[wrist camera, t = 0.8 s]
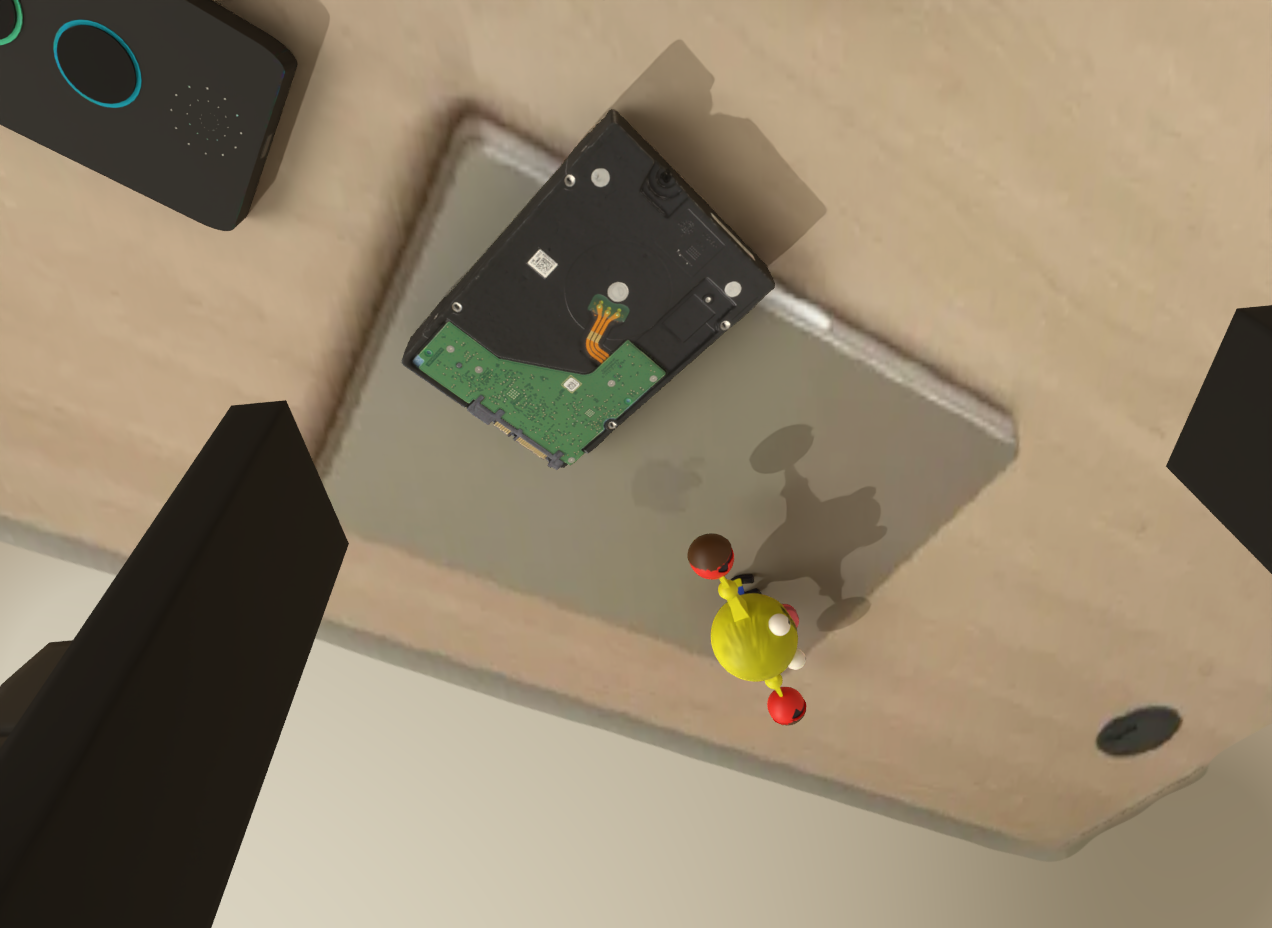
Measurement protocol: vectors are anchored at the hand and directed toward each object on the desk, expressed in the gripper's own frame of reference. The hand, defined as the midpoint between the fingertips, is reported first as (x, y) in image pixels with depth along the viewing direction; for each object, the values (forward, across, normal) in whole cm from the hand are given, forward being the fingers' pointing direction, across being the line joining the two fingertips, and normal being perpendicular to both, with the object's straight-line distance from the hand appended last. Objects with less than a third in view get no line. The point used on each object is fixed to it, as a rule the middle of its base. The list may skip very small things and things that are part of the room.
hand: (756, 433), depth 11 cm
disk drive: (+25, -4, -10) cm, 27 cm away
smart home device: (+25, -24, +5) cm, 35 cm away
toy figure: (+25, +4, -31) cm, 40 cm away
